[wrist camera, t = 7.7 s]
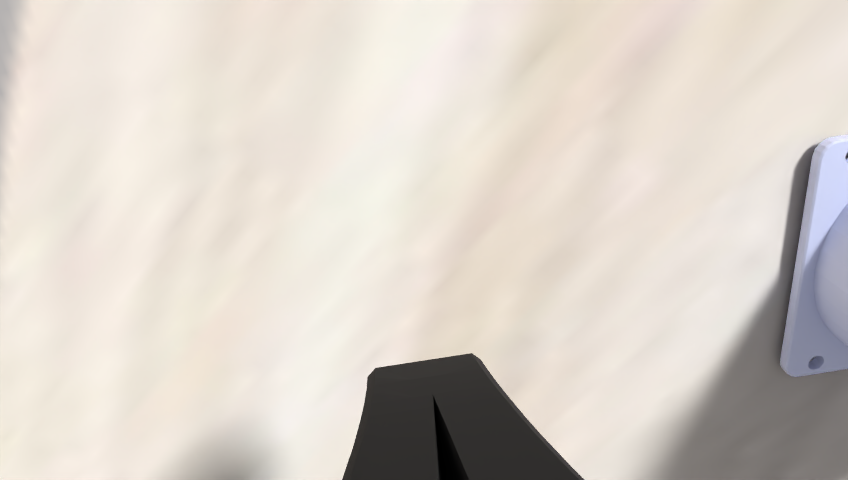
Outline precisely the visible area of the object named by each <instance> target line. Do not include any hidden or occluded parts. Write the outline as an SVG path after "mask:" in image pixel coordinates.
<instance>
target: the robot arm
mask: <svg viewBox="0 0 848 480" xmlns="http://www.w3.org/2000/svg"><path fill="white" fill-rule="evenodd" d="M847 152H848V135H842V136H834V137H830V138H827V139H825V140H823V141H822V142H821V143H819V145H818V146H817V147H816V148H815V150H814V153H813V156H812V162H811V168H810V174H809V181H808V187H807V193H806V200H805V206H804V212H803V219H802V225H801V231H800V238H799V244H798V251H797V257H796V263H795V270H794V276H793V282H792V289H791V295H790V301H789V308H788V314H787V320H786V327H785V333H784V339H783V346H782V352H781V358H780V366H781V367H782V369H783V370H784V371H785V372H786V373H787V374H788V375H790V376H792V377H800V376H807V375H813V374H819V373H825V372H831V371H838V370H844V369H848V159H846V158H845V157H846V154H847ZM813 357H815V358H814V359H813V360H812V361H810V360H811V359H812V358H813ZM809 361H810V362H809ZM342 480H584V479H583V478H582V477H581V476H580V475H579V474H578V473H577V472H576V471H575V470H574V469H573V468H572V467H571V466H570V465H569V464H568V463H567V462H566V461H565V460H564V458H563V457H562V456H561V455H560V454H559V453H558V452H557V451H556V450H555V449H554V448H553V447H552V446H551V445H550V444H549V443H548V442H547V441H546V439H545V438H544V437H543V436H542V435H541V434H540V433H539V432H538V431H537V430H536V429H535V427H534V426H533V425H532V424H531V423H530V422H529V421H528V420H527V418H526V417H525V416H524V415H523V414H522V412H521V411H520V410H519V409H518V408H517V407H516V405H515V404H514V403H513V402H512V401H511V399H510V398H509V397H508V396H507V394H506V393H505V392H504V391H503V389H502V388H501V387H500V386H499V384H498V383H497V382H496V380H495V379H494V378H493V376H492V375H491V374H490V372H489V371H488V370H487V368H486V367H485V365H484V364H483V362H482V361H481V360H480V359H479V358H478V357H476V356H475V355H473V354H472V353H471V354H464V355H458V356H451V357H445V358H438V359H432V360H425V361H419V362H412V363H406V364H399V365H393V366H386V367H379V368H375V369H374V370H373V372H372V373H371V374H370V375H369V376H368V380H367V391H366V397H365V403H364V408H363V412H362V416H361V421H360V424H359V428H358V432H357V435H356V439H355V443H354V446H353V449H352V452H351V455H350V458H349V461H348V464H347V467H346V470H345V473H344V476H343V479H342Z"/></svg>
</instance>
